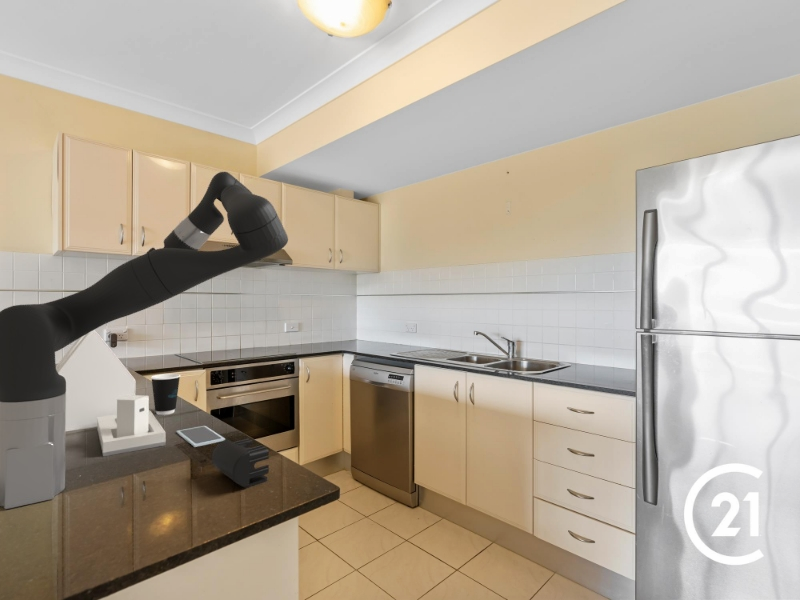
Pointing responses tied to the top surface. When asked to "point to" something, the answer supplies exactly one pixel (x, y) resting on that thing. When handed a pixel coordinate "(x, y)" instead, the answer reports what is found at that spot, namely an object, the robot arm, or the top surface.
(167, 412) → the dixie cup
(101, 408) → the milk carton
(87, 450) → the top surface
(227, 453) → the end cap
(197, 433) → the phone
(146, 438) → the outlet strip
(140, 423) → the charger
